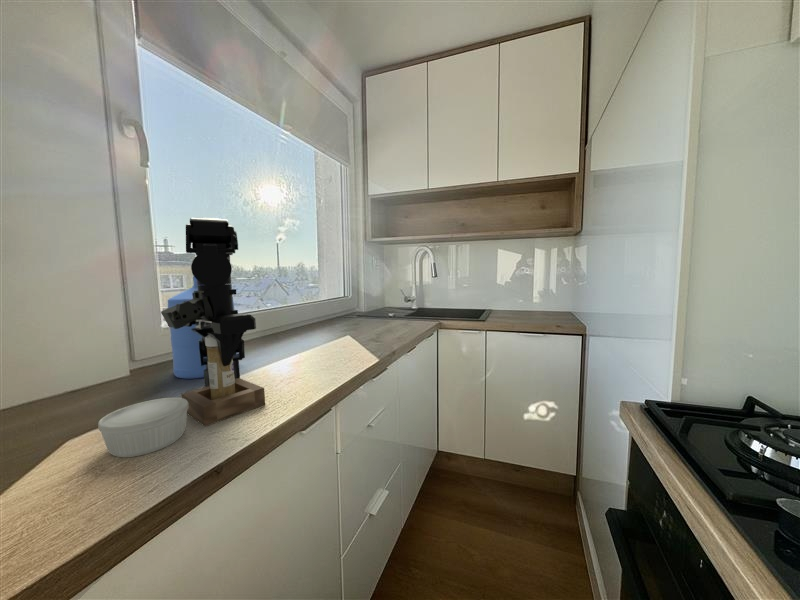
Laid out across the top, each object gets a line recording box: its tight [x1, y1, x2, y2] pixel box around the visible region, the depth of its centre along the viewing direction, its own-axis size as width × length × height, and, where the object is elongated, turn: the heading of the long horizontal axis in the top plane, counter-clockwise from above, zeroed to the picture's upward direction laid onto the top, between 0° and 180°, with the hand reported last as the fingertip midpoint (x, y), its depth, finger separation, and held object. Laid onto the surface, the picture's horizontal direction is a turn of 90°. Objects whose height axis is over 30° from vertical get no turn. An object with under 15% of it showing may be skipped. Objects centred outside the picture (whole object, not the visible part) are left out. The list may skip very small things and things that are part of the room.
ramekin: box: [97, 397, 189, 458], centre depth 50 cm, size 11×11×5 cm
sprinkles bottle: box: [205, 335, 235, 401], centre depth 61 cm, size 5×5×13 cm
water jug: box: [167, 276, 238, 380], centre depth 87 cm, size 16×16×28 cm
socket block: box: [181, 377, 266, 427], centre depth 62 cm, size 11×11×4 cm
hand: (221, 363), depth 61 cm, fingers closed on sprinkles bottle, 4 cm apart
